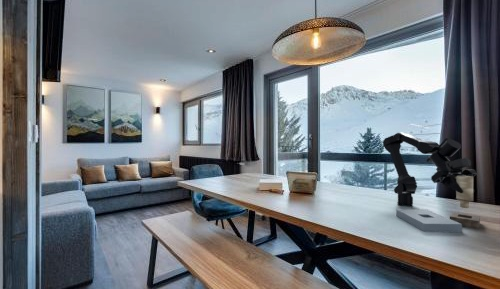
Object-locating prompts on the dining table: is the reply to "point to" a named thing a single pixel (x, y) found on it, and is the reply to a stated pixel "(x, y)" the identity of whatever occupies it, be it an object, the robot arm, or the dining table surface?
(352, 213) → the dining table surface
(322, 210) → the dining table surface
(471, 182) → the leg
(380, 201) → the dining table surface
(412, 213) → the board
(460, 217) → the frame
